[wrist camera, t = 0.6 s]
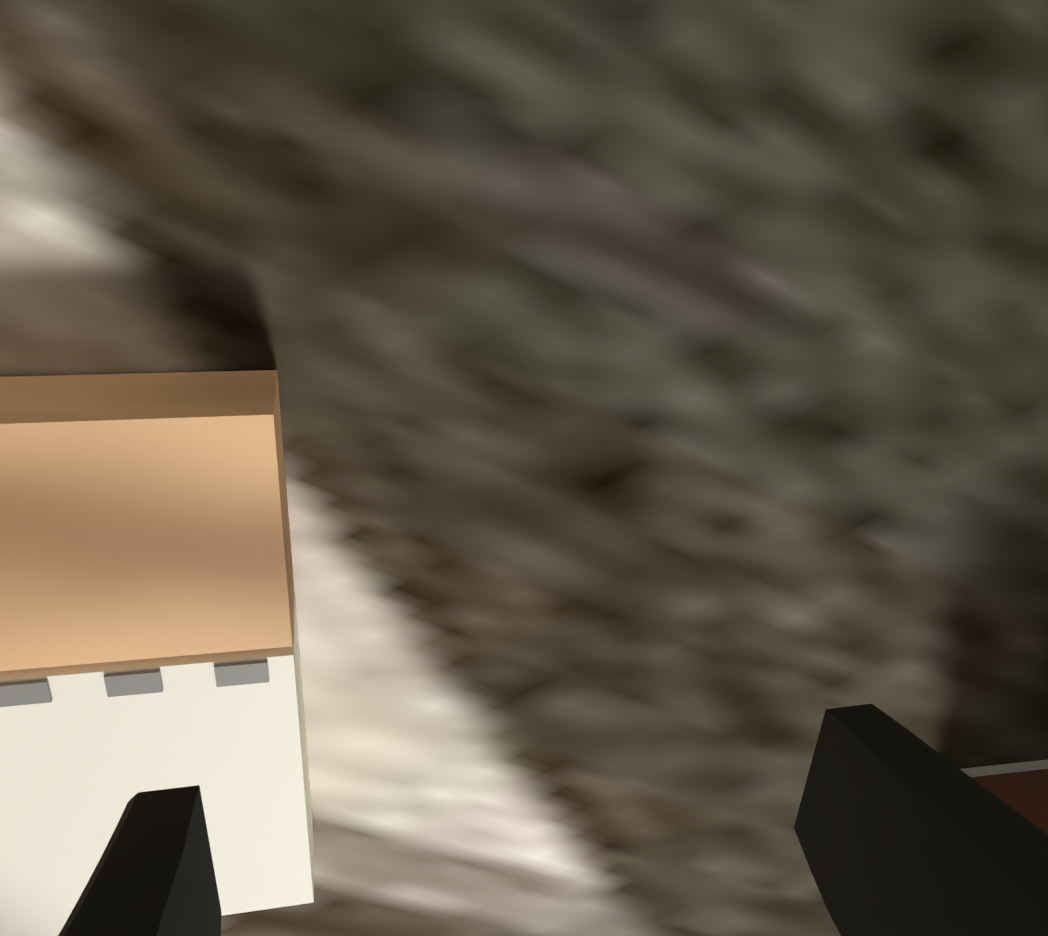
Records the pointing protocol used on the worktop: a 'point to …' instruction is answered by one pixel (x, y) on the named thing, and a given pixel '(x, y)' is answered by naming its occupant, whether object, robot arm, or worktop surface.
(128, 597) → the tan flat block
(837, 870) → the robot arm
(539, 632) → the worktop surface
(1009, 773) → the food container
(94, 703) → the board
